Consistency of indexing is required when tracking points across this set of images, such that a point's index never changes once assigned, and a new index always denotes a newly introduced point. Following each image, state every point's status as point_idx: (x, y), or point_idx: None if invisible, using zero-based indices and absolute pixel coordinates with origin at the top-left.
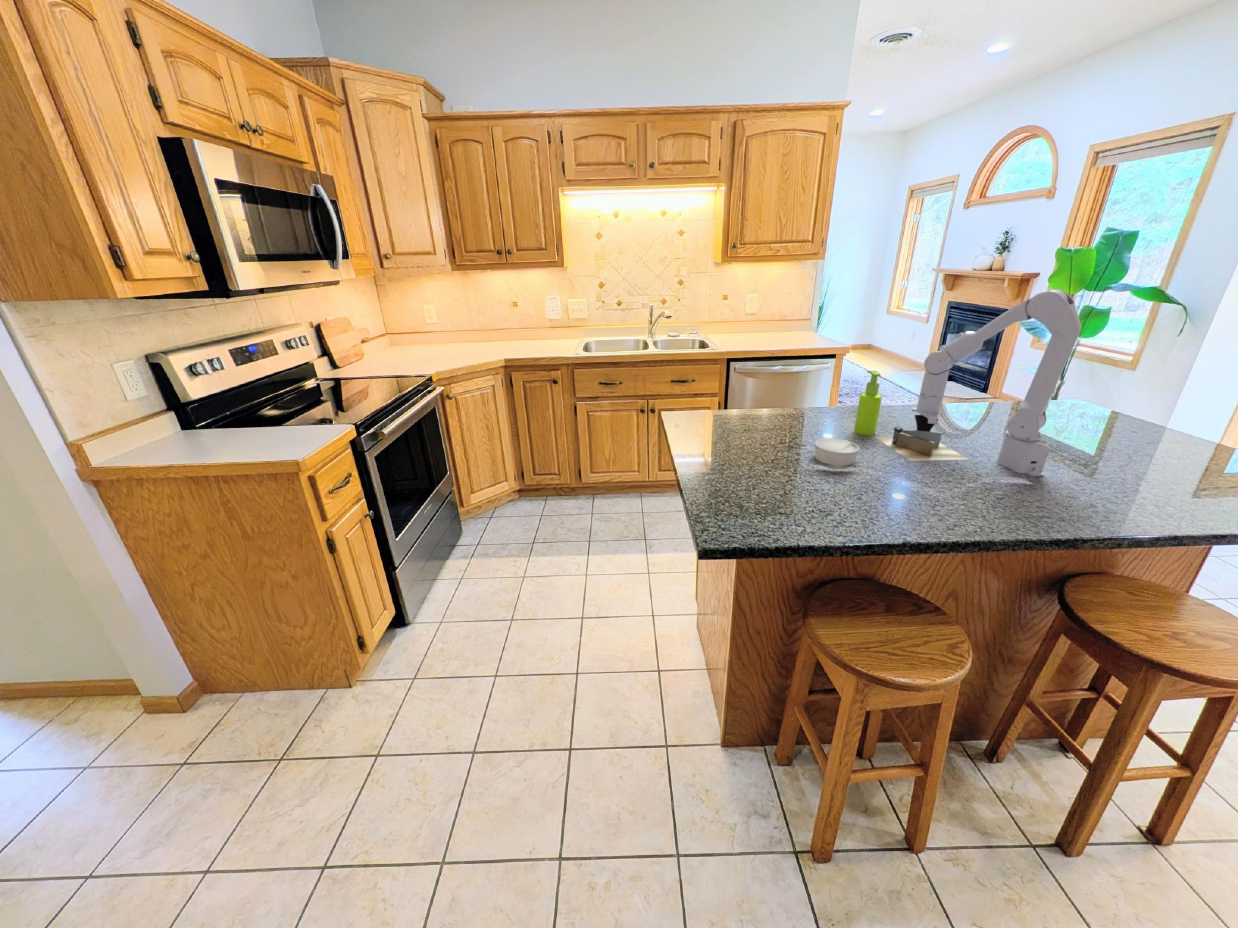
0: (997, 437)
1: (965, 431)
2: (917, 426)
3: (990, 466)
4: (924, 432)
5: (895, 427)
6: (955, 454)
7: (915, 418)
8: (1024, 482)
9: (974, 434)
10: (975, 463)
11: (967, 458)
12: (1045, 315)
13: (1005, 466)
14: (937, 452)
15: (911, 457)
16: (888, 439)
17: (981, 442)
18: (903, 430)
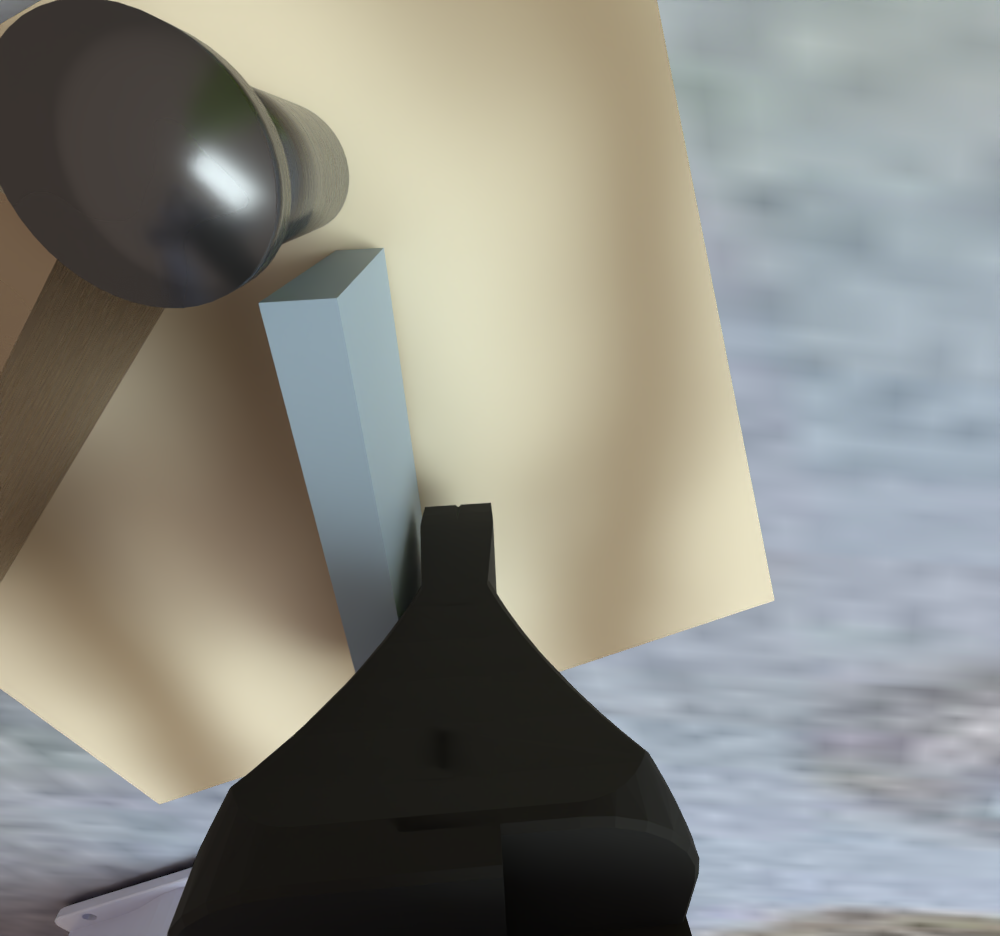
0: (829, 892)
1: (966, 796)
2: (410, 639)
3: None
4: (362, 664)
5: (180, 65)
6: (235, 744)
7: (501, 758)
8: (11, 925)
9: (894, 825)
10: (215, 795)
11: (174, 797)
12: None
13: (138, 924)
14: (200, 636)
15: None
16: (497, 57)
17: (720, 840)
18: (266, 328)
